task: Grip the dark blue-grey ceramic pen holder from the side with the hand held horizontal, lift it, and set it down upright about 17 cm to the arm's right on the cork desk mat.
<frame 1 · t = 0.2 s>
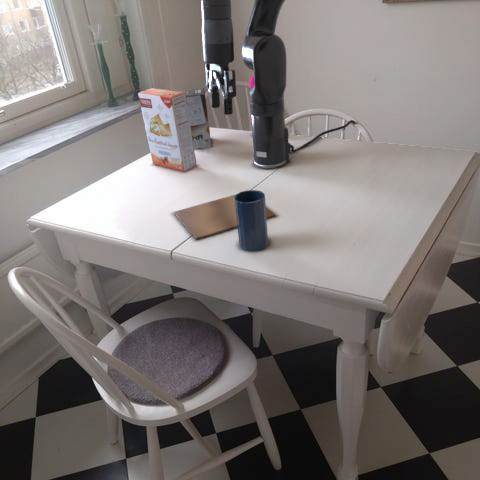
hand: (221, 110, 129), 17 cm above the table, tool pointing down, fingers open, 8 cm apart
pen holder: (253, 244, 107), on the table
desk mat: (222, 215, 119), on the table
cracker box: (174, 166, 149), on the table
pepper mill: (262, 134, 165), on the table
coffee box: (201, 144, 163), on the table
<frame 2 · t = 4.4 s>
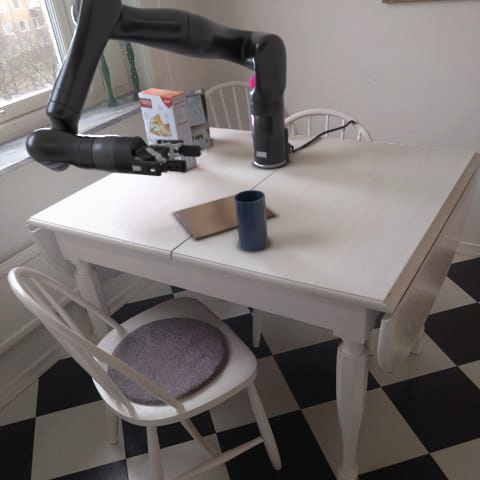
hand: (193, 158, 99), 19 cm above the table, tool horizontal, fingers open, 8 cm apart
nothing on the table moved.
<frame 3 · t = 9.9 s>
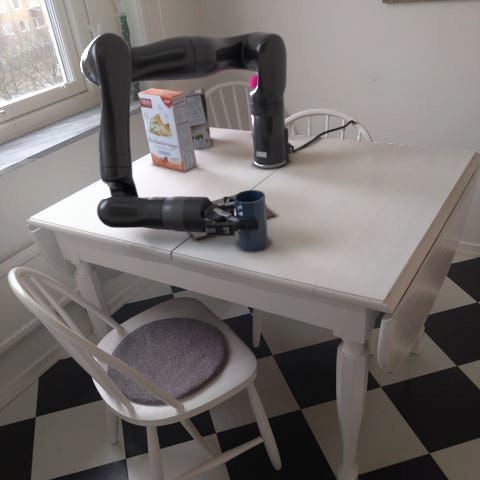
hand: (262, 216, 102), 7 cm above the table, tool horizontal, fingers closed on pen holder, 6 cm apart
pen holder: (253, 243, 107), on the table, touching gripper
everything else where it was.
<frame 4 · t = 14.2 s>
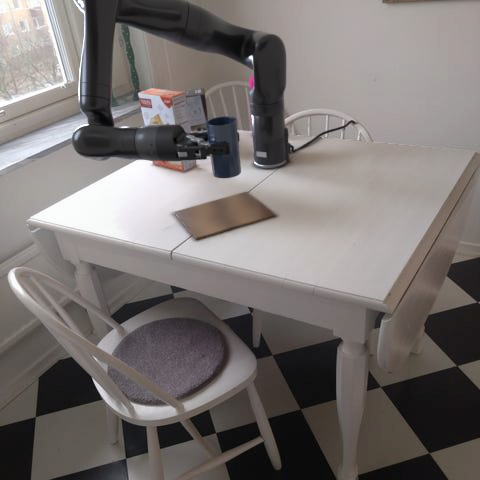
hand: (234, 142, 103), 19 cm above the table, tool horizontal, fingers closed on pen holder, 6 cm apart
pen holder: (227, 172, 108), point 12 cm above the table, touching gripper
everything else where it was.
when the fingers open (7 cm above the table, at t = 18.8 s): pen holder stays where it is, resting on desk mat.
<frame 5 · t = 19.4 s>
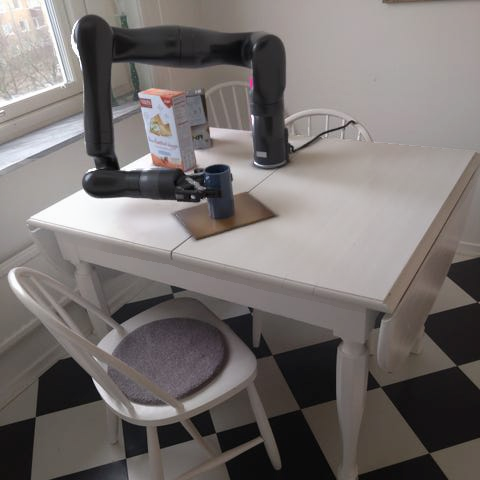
hand: (227, 185, 114), 8 cm above the table, tool horizontal, fingers open, 8 cm apart
pen holder: (222, 213, 119), resting on desk mat
everything else where it was.
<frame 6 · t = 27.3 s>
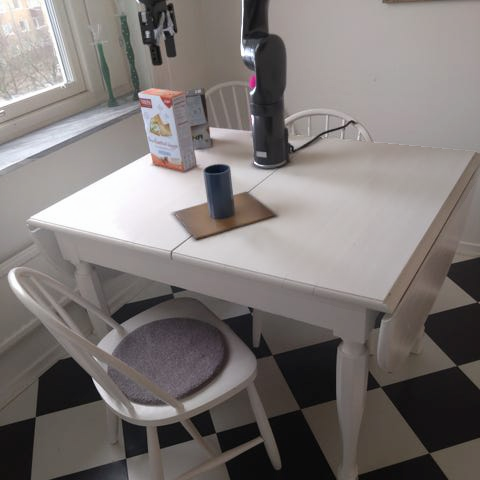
hand: (165, 61, 111), 32 cm above the table, tool pointing down, fingers open, 8 cm apart
nothing on the table moved.
at the end: pen holder inside the target area on the desk mat (0.1 cm from its centre), point 0.5 cm above the desk mat's base; pen holder tilted 0°; the gripper is holding nothing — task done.
